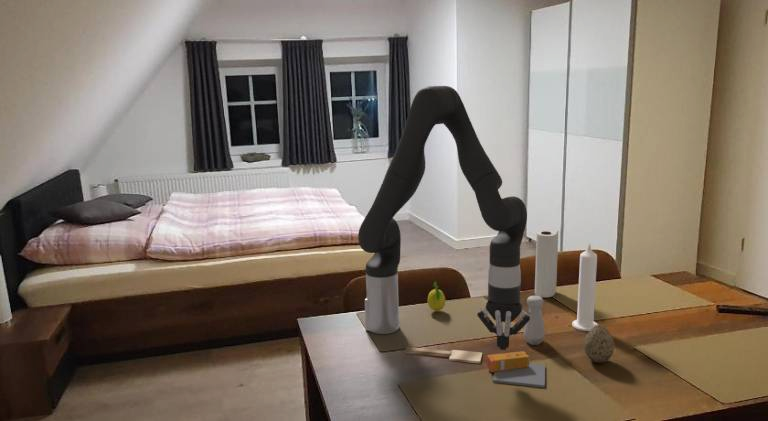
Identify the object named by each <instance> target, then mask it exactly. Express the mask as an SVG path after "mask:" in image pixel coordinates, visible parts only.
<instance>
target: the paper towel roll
mask: <svg viewBox="0 0 768 421" xmlns="http://www.w3.org/2000/svg"><path fill="white" fill-rule="evenodd" d="M535 244H536V245H535V270H534V271H535V272H534V274H535V275H534V276H535V277H534V296H540V297H541V298H551V297H553V296H555V293H556V292H557V278H558V277H557V276H558V253H559V251H558V250H559V230H558V231H557V232H554V231H552V230H551V231H549V230H540V231H537V232H536V242H535Z"/></svg>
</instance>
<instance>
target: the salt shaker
mask: <svg viewBox="0 0 768 421" xmlns="http://www.w3.org/2000/svg"><path fill="white" fill-rule="evenodd" d="M526 299H527V300H526V305H527V306H528V313H530V320H529V321H528V322H527V323H526V324H525V325H524V327H523V328H524V329H523V337H524V340H525V342H526V343H527V344H530V345H531V346H533V345H536V346H537V345H540V344H542V343H543V341H544V339H545V337H546V332H545V325H544V319H543V313H542V312H543V311H542V307H543V306H544V297H540V296H537V295H530V296H528V298H526Z"/></svg>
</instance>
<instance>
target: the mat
mask: <svg viewBox="0 0 768 421" xmlns="http://www.w3.org/2000/svg"><path fill="white" fill-rule="evenodd" d="M492 377H493V378H492V382H493V383H499V384H506V385H507V384H509V385H516V386H517V385H518V386H527V387H536V388H545V387H546V365H545V364H538V363H530V362H529V367H526V368H518V369H510V370H502V371H495V372H493V376H492Z"/></svg>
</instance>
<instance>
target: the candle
mask: <svg viewBox="0 0 768 421" xmlns="http://www.w3.org/2000/svg"><path fill="white" fill-rule="evenodd" d="M591 246H592V245H591V243H588V244H587V247H586V249H585V251H583V252H581V253H580V256H579V272H578V274H579V276H578V291H577V292H578V294H577V312H576V313H577V315H576V316H577V317H576V319H575V320H573V321H572V323H571V326H572V328H574V329H576V330H577V331H581V332H589V331H590V330H591V329H592V328H593V327H594V326H596V325H599V324H598V323H597V322H595V321H594V319H595V318H594V317H595V302H596V301H595V300H596V285H597V284H596V281H597V270H598V269H597V267H598V266H597V265H598V255H597V254H596V252H594V251H593V249H592V247H591Z"/></svg>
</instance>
